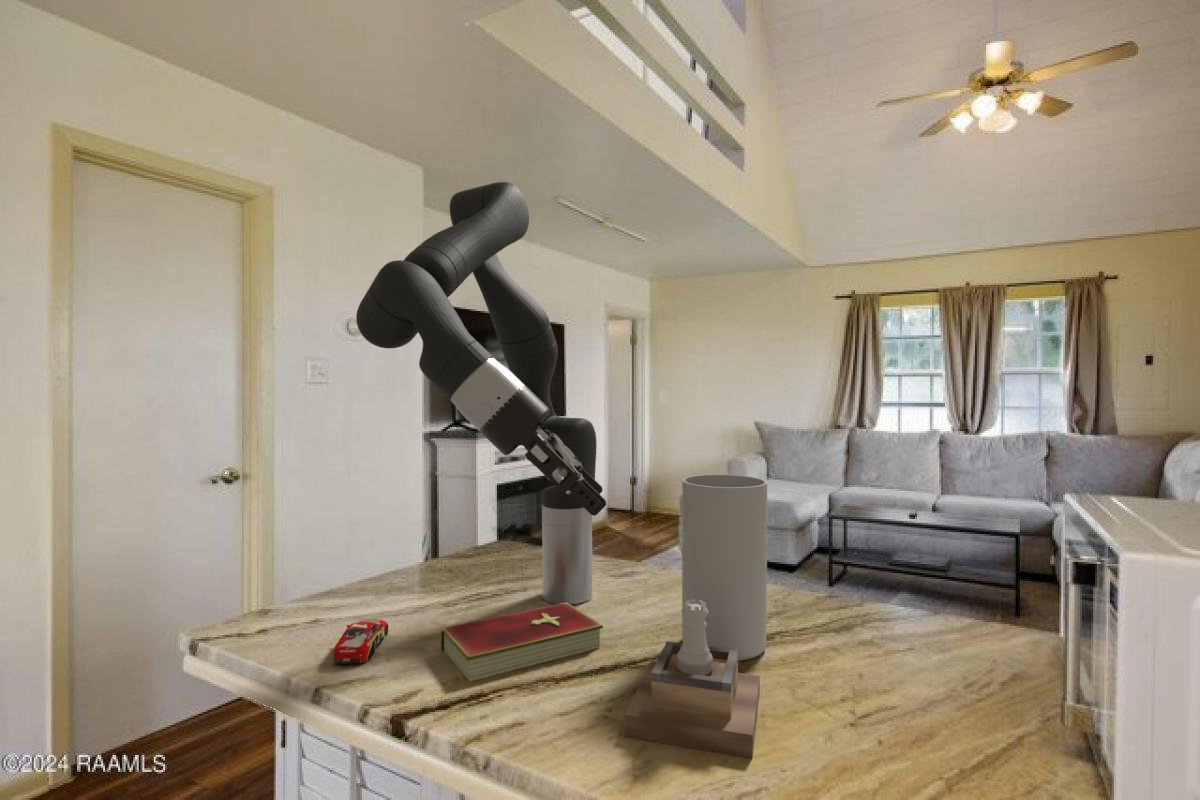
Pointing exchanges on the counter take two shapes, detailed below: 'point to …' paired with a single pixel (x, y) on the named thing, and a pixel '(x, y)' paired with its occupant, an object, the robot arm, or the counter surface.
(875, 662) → the counter surface
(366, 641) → the race car
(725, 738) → the walnut plinth
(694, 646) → the rook chess piece
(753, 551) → the cylinder vase
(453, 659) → the hardcover book
